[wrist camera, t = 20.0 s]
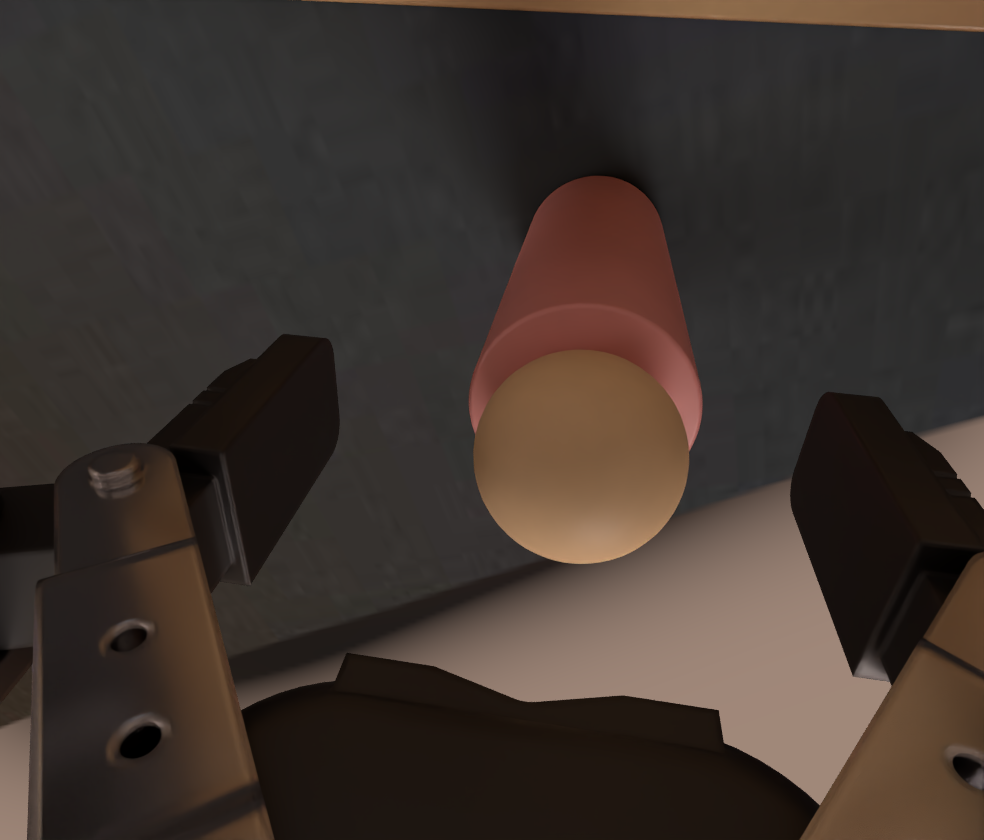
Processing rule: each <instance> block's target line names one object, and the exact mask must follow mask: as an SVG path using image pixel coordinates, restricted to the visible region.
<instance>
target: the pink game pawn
mask: <svg viewBox="0 0 984 840" xmlns="http://www.w3.org/2000/svg"><path fill="white" fill-rule="evenodd" d="M469 412H470V417H471V423H472V426H473V429H474V432H475V441H474V450H473V454H474V472H475V476H476V481H477V485H478V488H479V491H480V494H481V497H482V499H483V501H484V503H485V505H486V507H487V509H488V510H489V512H490V514H491V515H492V517H493V518H494V520H495V521H496V522H497V524H498V525H499V526H500V527H501V528H502V529H503V530H504V531H505V532H506V533H507V534H508V535H509V536H510V537H511V538H512V539H514V540H515V541H516V542H517V543H519V544H520V545H522V546H523V547H525V548H526V549H528V550H530V551H532V552H534V553H536V554H538V555H541V556H543V557H546V558H549V559H552V560H556V561H560V562H565V563H575V564H590V563H598V562H603V561H608V560H612V559H615V558H618V557H621V556H624V555H626V554H628V553H630V552H632V551H634V550H635V549H637V548H639V547H640V546H642V545H644V544H645V543H646V542H648V541H649V540H650V539H651V538H652V537H654V536H655V535H656V534H657V533H658V532H659V531H660V530H661V529H662V528H663V526H664V525H665V524H666V523H667V522H668V520H669V519H670V517H671V516H672V515H673V513H674V511H675V509H676V507H677V505H678V503H679V501H680V499H681V497H682V495H683V491H684V488H685V485H686V481H687V475H688V469H689V450H690V449H691V447H692V445H693V443H694V441H695V439H696V436H697V433H698V430H699V427H700V423H701V417H702V392H701V385H700V381H699V377H698V372H697V368H696V364H695V360H694V356H693V352H692V347H691V343H690V339H689V335H688V331H687V327H686V322H685V318H684V314H683V310H682V306H681V302H680V297H679V293H678V289H677V285H676V281H675V277H674V272H673V268H672V264H671V260H670V256H669V252H668V248H667V243H666V239H665V235H664V231H663V227H662V223H661V220H660V217H659V215H658V213H657V210H656V208H655V207H654V205H653V204H652V202H651V201H650V200H649V199H648V198H647V196H646V195H645V194H644V193H642V192H641V191H640V190H639V189H638V188H636V187H635V186H633V185H631V184H630V183H628V182H625V181H623V180H621V179H617V178H614V177H608V176H588V177H582V178H579V179H575V180H573V181H570V182H568V183H566V184H564V185H562V186H561V187H559V188H558V189H556V190H555V191H554V192H552V193H551V194H550V195H549V196H548V197H547V198H546V199H545V200H544V201H543V203H542V204H541V205H540V207H539V208H538V210H537V212H536V213H535V215H534V218H533V220H532V222H531V225H530V228H529V230H528V233H527V235H526V238H525V240H524V243H523V246H522V248H521V251H520V253H519V256H518V259H517V261H516V264H515V266H514V269H513V272H512V274H511V277H510V279H509V282H508V284H507V287H506V290H505V292H504V295H503V297H502V300H501V303H500V305H499V308H498V310H497V313H496V316H495V318H494V321H493V323H492V326H491V328H490V331H489V334H488V336H487V339H486V341H485V344H484V347H483V349H482V352H481V354H480V357H479V360H478V362H477V365H476V367H475V370H474V372H473V376H472V380H471V384H470V391H469Z"/></svg>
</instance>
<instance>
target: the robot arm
mask: <svg viewBox="0 0 984 840" xmlns="http://www.w3.org/2000/svg"><path fill="white" fill-rule="evenodd" d="M339 425H340V419H339V407H338V396H337V385H336V374H335V363H334V353H333V348H332V345H331V342H330V341H329V340H328V339H327V338H318V337H308V336H299V335H289V334H283V335H281V336H280V337H279V338H278V339H277V340H276V341H275V342H274V343H273V344H272V345H271V346H270V347H269V348H268V349H267V350H266V351H265V352H264V353H263V354H262V355H261V356H260V357H258V358H257V359H249V360H247V361H245V362H243V363H240V364H238V365H236V366H234V367H232V368H230V369H228V370H226V371H224V372H223V373H222V374H221V375H220V376H219V377H217V378H216V379H215V380H214V381H213V382H212V383H211V384H210V385H209V386H208V387H207V391H202V392H201V393H200V394H199V395H198V396H197V397H196V398H195V399H194V400H193V404H189V405H187V406H186V407H185V408H184V409H183V410H182V411H181V412H180V413H179V414H178V415H177V416H176V417H175V418H174V419H172V420H171V421H170V422H169V423H168V424H167V425H166V426H165V427H164V428H163V429H162V430H161V431H160V432H159V433H157V434H156V435H155V436H154V437H153V438H152V439H151V440H150V441H149V442H148V443H147V444H146V443H130V444H121V445H115V446H111V447H107V448H103V449H100V450H97V451H94V452H92V453H89V454H87V455H85V456H83V457H81V458H79V459H77V460H76V461H74V462H73V463H71V464H70V465H68V466H67V467H66V468H65V469H64V470H63V471H62V472H61V473H60V474H59V476H58V477H57V479H56V481H55V484H43V485H31V486H18V487H6V488H0V704H1V702H2V701H3V700H4V699H5V697H6V696H7V695H8V694H9V692H10V691H11V690H12V689H13V687H14V686H15V685H16V684H17V683H18V681H19V680H20V679H21V678H22V676H23V675H24V674H25V673H26V671H27V670H28V669H29V668H30V666H31V665H32V664H33V667H32V700H31V733H30V764H29V796H28V828H27V840H984V509H983V508H982V507H981V505H980V504H979V503H978V501H977V500H976V499H975V498H971V492H970V491H969V490H968V488H967V487H966V486H965V484H964V483H963V482H962V480H961V479H957V474H956V472H955V471H954V470H953V468H952V467H951V466H950V464H949V463H948V462H947V460H946V459H945V458H944V456H943V455H942V454H941V453H940V452H939V451H938V450H936V449H935V448H934V447H932V446H931V445H929V444H928V443H927V442H925V441H924V440H922V439H921V438H920V437H918V436H917V435H915V434H914V433H913V432H908V431H904V430H903V428H902V427H901V426H900V424H899V423H898V421H897V420H896V419H895V417H894V416H893V414H892V413H891V411H890V410H889V409H888V407H887V406H886V404H885V403H884V402H883V400H882V399H881V398H879V397H872V396H862V395H853V394H843V393H834V392H826V393H825V394H824V395H823V396H822V397H821V398H820V400H819V402H818V404H817V406H816V409H815V412H814V415H813V418H812V420H811V423H810V426H809V429H808V432H807V435H806V438H805V441H804V444H803V447H802V449H801V452H800V455H799V458H798V461H797V464H796V467H795V470H794V473H793V477H792V482H791V492H790V497H791V508H792V511H793V514H794V517H795V520H796V523H797V525H798V528H799V531H800V534H801V536H802V539H803V542H804V544H805V547H806V550H807V553H808V555H809V558H810V560H811V563H812V566H813V569H814V572H815V574H816V577H817V580H818V582H819V585H820V587H821V590H822V593H823V596H824V599H825V601H826V604H827V607H828V609H829V612H830V615H831V618H832V620H833V623H834V626H835V629H836V631H837V634H838V637H839V639H840V642H841V645H842V648H843V650H844V653H845V656H846V658H847V661H848V664H849V667H850V669H851V672H852V675H853V676H854V677H861V678H867V679H874V680H881V681H887V682H890V683H891V685H892V687H891V689H890V690H889V692H888V694H887V696H886V697H885V699H884V700H883V702H882V704H881V705H880V707H879V709H878V710H877V712H876V714H875V715H874V717H873V719H872V720H871V722H870V724H869V725H868V727H867V728H866V730H865V732H864V733H863V735H862V737H861V739H860V740H859V742H858V743H857V745H856V747H855V749H854V750H853V752H852V754H851V755H850V757H849V758H848V760H847V762H846V763H845V765H844V767H843V768H842V770H841V772H840V774H839V775H838V777H837V779H836V780H835V782H834V783H833V785H832V787H831V788H830V790H829V792H828V793H827V795H826V797H825V798H824V800H823V802H822V803H821V805H819V804H818V803H816V802H815V801H814V800H813V799H812V798H811V797H810V796H809V795H808V794H807V793H806V792H804V791H803V790H802V789H800V788H799V787H798V786H796V785H795V784H794V783H793V782H791V781H790V780H789V779H787V778H786V777H785V776H783V775H782V774H780V773H779V772H777V771H776V770H774V769H773V768H771V767H769V766H768V765H766V764H765V763H763V762H762V761H760V760H758V759H756V758H754V757H752V756H750V755H748V754H746V753H744V752H743V751H740V750H739V749H737V748H734V747H732V746H729V745H727V744H725V743H724V742H723V735H722V729H721V723H720V716H719V710H714V709H707V708H700V707H694V706H688V705H681V704H675V703H668V702H662V701H655V700H649V699H642V698H636V697H629V696H610V697H597V698H584V699H570V700H558V701H544V702H524V701H519V700H516V699H514V698H511V697H509V696H506V695H504V694H501V693H499V692H496V691H494V690H491V689H489V688H486V687H484V686H482V685H479V684H477V683H474V682H472V681H469V680H467V679H464V678H462V677H459V676H457V675H454V674H452V673H449V672H447V671H444V670H442V669H439V668H437V667H434V666H429V665H422V664H415V663H409V662H403V661H396V660H390V659H383V658H377V657H370V656H364V655H357V654H351V653H347V654H346V656H345V659H344V661H343V663H342V666H341V668H340V671H339V673H338V675H337V678H336V680H335V681H333V682H323V683H318V684H312V685H307V686H302V687H298V688H295V689H291V690H288V691H285V692H281V693H278V694H276V695H273V696H271V697H268V698H266V699H263V700H261V701H259V702H256V703H254V704H252V705H251V706H249V707H247V708H245V709H243V710H241V709H240V706H239V702H238V698H237V694H236V690H235V687H234V682H233V678H232V675H231V671H230V667H229V663H228V659H227V655H226V651H225V647H224V643H223V640H222V636H221V632H220V628H219V624H218V620H217V616H216V612H215V609H214V605H213V601H212V597H211V593H212V592H213V590H214V589H215V587H216V586H217V584H218V583H219V582H225V583H232V584H239V585H246V586H250V585H251V583H252V582H253V580H254V578H255V577H256V575H257V574H258V572H259V570H260V569H261V567H262V566H263V564H264V562H265V561H266V559H267V558H268V556H269V554H270V553H271V551H272V550H273V548H274V546H275V545H276V543H277V542H278V540H279V538H280V537H281V535H282V534H283V532H284V531H285V529H286V527H287V526H288V524H289V523H290V521H291V519H292V518H293V516H294V515H295V513H296V511H297V510H298V508H299V507H300V505H301V503H302V502H303V500H304V499H305V497H306V495H307V494H308V492H309V491H310V489H311V487H312V486H313V484H314V483H315V481H316V479H317V478H318V476H319V475H320V473H321V471H322V470H323V468H324V467H325V465H326V463H327V462H328V460H329V459H330V457H331V455H332V454H333V452H334V449H335V447H336V444H337V440H338V435H339Z"/></svg>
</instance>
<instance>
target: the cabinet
mask: <svg viewBox="0 0 984 840" xmlns="http://www.w3.org/2000/svg"><path fill="white" fill-rule="evenodd" d="M303 1H325V2H346V3H368V4H389V5H411V6H432V7H454V8H475V9H497V10H518V11H540V12H561V13H583V14H605V15H626V16H648V17H669V18H691V19H712V20H734V21H755V22H777V23H798V24H820V25H841V26H863V27H884V28H906V29H927V30H949V31H971V32H984V0H303Z"/></svg>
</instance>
